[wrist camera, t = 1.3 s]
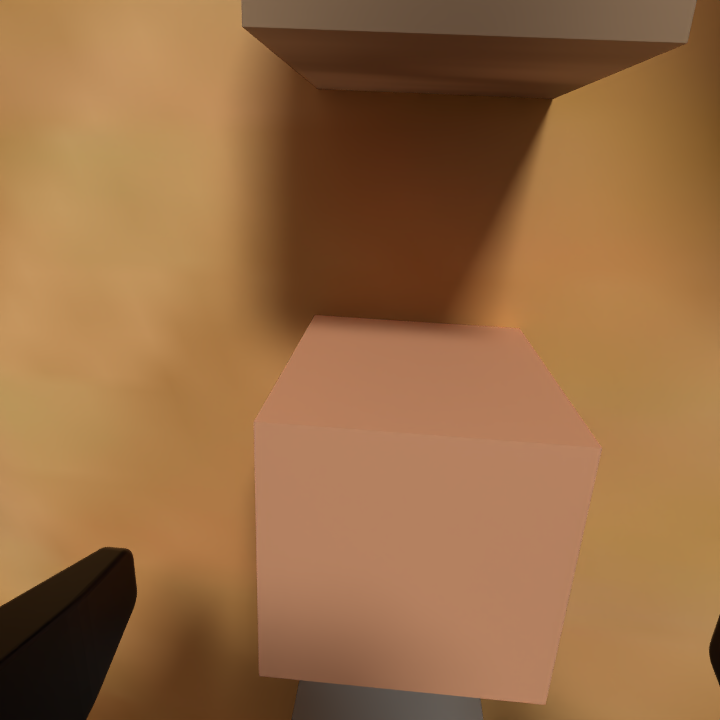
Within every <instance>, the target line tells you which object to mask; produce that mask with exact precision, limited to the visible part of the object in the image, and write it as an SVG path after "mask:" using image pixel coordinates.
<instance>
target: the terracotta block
mask: <svg viewBox="0 0 720 720" xmlns="http://www.w3.org/2000/svg"><path fill="white" fill-rule="evenodd" d="M601 451H602V447H601V446H600V444H599V443H598V441H597V440H596V438H595V437H594V435H593V434H592V433H591V431H590V430H589V428H588V427H587V425H586V424H585V422H584V421H583V420H582V418H581V417H580V415H579V414H578V412H577V411H576V409H575V408H574V406H573V405H572V404H571V402H570V401H569V399H568V398H567V396H566V395H565V393H564V392H563V391H562V389H561V388H560V386H559V385H558V383H557V382H556V380H555V379H554V377H553V376H552V375H551V373H550V372H549V370H548V369H547V367H546V366H545V364H544V363H543V361H542V360H541V359H540V357H539V356H538V354H537V353H536V351H535V350H534V348H533V347H532V346H531V344H530V343H529V341H528V340H527V338H526V337H525V335H524V334H523V332H522V331H521V330H520V328H507V327H491V326H476V325H461V324H446V323H430V322H415V321H400V320H384V319H369V318H354V317H339V316H323V315H314V317H313V319H312V321H311V322H310V324H309V326H308V328H307V329H306V331H305V333H304V335H303V336H302V338H301V340H300V342H299V343H298V345H297V347H296V349H295V350H294V352H293V354H292V356H291V357H290V359H289V361H288V363H287V364H286V366H285V368H284V370H283V371H282V373H281V375H280V377H279V378H278V380H277V382H276V384H275V385H274V387H273V389H272V391H271V392H270V394H269V396H268V398H267V399H266V401H265V403H264V405H263V406H262V408H261V410H260V412H259V413H258V415H257V417H256V419H255V420H254V459H255V507H256V554H257V602H258V650H259V676H264V677H274V678H283V679H293V680H303V681H313V682H323V683H333V684H343V685H353V686H363V687H373V688H383V689H393V690H403V691H413V692H423V693H433V694H443V695H453V696H463V697H472V698H482V699H492V700H502V701H512V702H522V703H532V704H542V705H545V704H546V700H547V695H548V691H549V686H550V682H551V677H552V673H553V668H554V664H555V659H556V655H557V650H558V646H559V641H560V637H561V632H562V628H563V623H564V619H565V614H566V609H567V605H568V600H569V596H570V591H571V587H572V582H573V578H574V573H575V569H576V564H577V560H578V555H579V551H580V546H581V542H582V537H583V533H584V528H585V524H586V519H587V515H588V510H589V505H590V501H591V496H592V492H593V487H594V483H595V478H596V474H597V469H598V465H599V460H600V456H601Z"/></svg>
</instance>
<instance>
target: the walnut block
mask: <svg viewBox="0 0 720 720" xmlns="http://www.w3.org/2000/svg"><path fill="white" fill-rule="evenodd" d="M696 1H697V0H242V27H243V28H244V29H246V30H247V31H248V32H249V33H250V34H252V35H253V36H254V37H255V38H257V39H258V40H259V41H260V42H261V43H263V44H264V45H265V46H266V47H267V48H269V49H270V50H271V51H272V52H274V53H275V54H276V55H277V56H278V57H280V58H281V59H282V60H283V61H284V62H286V63H287V64H288V65H289V66H291V67H292V68H293V69H294V70H295V71H297V72H298V73H299V74H300V75H301V76H303V77H304V78H305V79H306V80H308V81H309V82H310V83H311V84H312V85H314V86H315V87H316V88H317V89H332V90H355V91H379V92H402V93H425V94H449V95H472V96H495V97H519V98H542V99H554V98H556V97H559V96H561V95H563V94H566V93H568V92H571V91H573V90H575V89H578V88H580V87H583V86H585V85H587V84H590V83H592V82H595V81H597V80H600V79H602V78H604V77H607V76H609V75H612V74H614V73H616V72H619V71H621V70H624V69H626V68H628V67H631V66H633V65H636V64H638V63H640V62H643V61H645V60H648V59H650V58H653V57H655V56H657V55H660V54H662V53H665V52H667V51H669V50H672V49H674V48H677V47H679V46H681V45H684V44H686V43H688V38H689V34H690V29H691V24H692V20H693V15H694V11H695V6H696Z"/></svg>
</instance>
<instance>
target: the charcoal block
mask: <svg viewBox="0 0 720 720" xmlns="http://www.w3.org/2000/svg"><path fill="white" fill-rule="evenodd" d="M291 720H483V714H482V707H481V700H480V698H472V697H463V696H453V695H443V694H433V693H423V692H413V691H403V690H393V689H383V688H373V687H363V686H353V685H343V684H333V683H323V682H313V681H303V680H299V685H298V690H297V695H296V700H295V705H294V710H293V714H292V719H291Z"/></svg>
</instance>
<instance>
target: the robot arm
mask: <svg viewBox="0 0 720 720" xmlns="http://www.w3.org/2000/svg"><path fill="white" fill-rule="evenodd" d="M136 597H137V586H136V577H135V568H134V559H133V554H132V552H131V551H130V550H128V549H126V548H115V547H104V548H101V549H99V550H98V551H96V552H94V553H92V554H91V555H89V556H87V557H85V558H84V559H82V560H80V561H78V562H77V563H75V564H73V565H72V566H70V567H68V568H66V569H65V570H63V571H61V572H59V573H58V574H56V575H54V576H52V577H51V578H49V579H47V580H45V581H44V582H42V583H40V584H39V585H37V586H35V587H33V588H32V589H30V590H28V591H26V592H25V593H23V594H21V595H19V596H18V597H16V598H14V599H13V600H11V601H9V602H7V603H6V604H4V605H2V606H0V720H86V719H87V717H88V715H89V713H90V711H91V709H92V707H93V705H94V703H95V700H96V698H97V696H98V693H99V691H100V689H101V686H102V684H103V682H104V679H105V677H106V674H107V672H108V669H109V667H110V665H111V662H112V660H113V657H114V655H115V652H116V650H117V647H118V645H119V643H120V640H121V638H122V635H123V633H124V630H125V628H126V625H127V623H128V621H129V618H130V616H131V613H132V611H133V608H134V606H135V602H136ZM709 655H710V660H711V664H712V667H713V669H714V672H715V675H716V677H717V680H718V683H719V685H720V615H719V618H718V621H717V624H716V627H715V630H714V633H713V636H712V639H711V642H710V647H709Z"/></svg>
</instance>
